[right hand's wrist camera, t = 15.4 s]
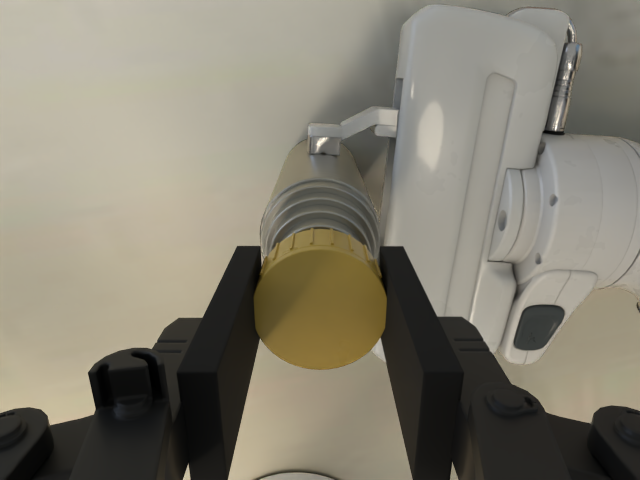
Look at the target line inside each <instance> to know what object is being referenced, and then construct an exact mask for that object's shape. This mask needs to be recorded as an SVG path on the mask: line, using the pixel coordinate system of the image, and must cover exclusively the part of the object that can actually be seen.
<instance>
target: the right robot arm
mask: <svg viewBox="0 0 640 480" xmlns="http://www.w3.org/2000/svg"><path fill="white" fill-rule="evenodd" d="M261 268H262V266H261V246H237V248H236V250H235V252H234V254H233V256H232V258H231V260H230V262H229V264H228V266H227V268H226V271H225V273H224V275H223V277H222V279H221V281H220V283H219V285H218V287H217V289H216V291H215V293H214V295H213V298H212V300H211V302H210V304H209V306H208V308H207V310H206V312H205V314H204V316H203V318H178V319H177V320H175V321H174V322H173V323H171V324H170V325H169V326H167V327H166V328H165V329H164V330H163V332H162V334H161V335H160V337H159V338H158V340H157V343H155V345H154V347H153V348H152V349H149V348H131V349H126V350H121V351H118V352H115V353H113V354H110V355H108V356H106V357H104V358H103V359H101V360H100V361H98V362H97V363H95V364H94V366H93V367H92V368H91V369H90V371H89V372H88V375H89V379H90V384H91V389H92V393H93V398H94V402H95V407H96V411H95V413H94V415H91V416H88V417H84V418H81V419H77V420H72V421H68V422H63V423H59V424H54V425H50V424H49V420H48V416H47V415H46V414H45V413H44V412H43V411H42V410H40V409H35V408H30V407H28V408H18V409H13V410H9V411H6V412H3V413H0V480H183V477H184V474H185V471H186V468H187V465H188V462H189V470H190V477H191V480H228V476H229V472H230V467H231V463H232V458H233V454H234V450H235V445H236V441H237V436H238V432H239V428H240V423H241V419H242V414H243V410H244V406H245V401H246V397H247V392H248V388H249V384H250V379H251V375H252V370H253V366H254V362H255V357H256V353H257V349H258V344H259V340H260V337H259V335H258V333H257V331H256V328H255V313H254V292H255V289H256V286H257V283H258V279H259V276H260V275H259V274H260V271H261ZM379 268H380V271H381V274H382V282H383V285H384V288H385V292H386V295H387V305H386V322H385V329H384V332H383V334H382V336H381V337H380V338H381V342H382V346H383V351H384V355H385V360H386V364H387V368H388V373H389V377H390V381H391V386H392V390H393V395H394V399H395V403H396V408H397V412H398V417H399V421H400V425H401V430H402V434H403V439H404V443H405V447H406V452H407V456H408V460H409V465H410V469H411V474H412V478H413V480H450V474H451V466H452V462H453V465H454V468H455V470H456V473H457V476H458V479H459V480H640V411H638V410H635V409H631V408H628V407H621V406H607V407H602V408H600V409H598V410H597V411H596V412H595V413H594V415H593V419H592V423H591V424H590V423H585V422H581V421H576V420H572V419H567V418H563V417H559V416H556V415H552V414H549V413H546V412H545V410H544V408H543V407H542V405H541V404H540V402H539V401H538V399H537V398H535V397H534V396H533V395H531V394H530V393H529V392H528V391H526V390H524V389H521V388H519V387H517V386H515V385H512V384H511V383H510V381H509V380H508V378H507V376H506V375H505V373H504V371H503V370H502V368H501V367H500V365H499V363H498V362H497V360H496V358H495V357H494V355H493V354H492V352H490V349H489V347H488V346H487V344H486V342H485V341H483V337H482V336H481V334H480V333H479V331H478V329H477V328H476V327H475V326H474V325H473V324H471V323H470V322H469V321H467V320H466V319H465V318H463V317H437V315H436V313H435V311H434V309H433V307H432V305H431V303H430V301H429V298H428V296H427V294H426V292H425V290H424V288H423V286H422V284H421V282H420V280H419V278H418V276H417V274H416V272H415V269H414V267H413V265H412V263H411V261H410V259H409V257H408V255H407V253H406V251H405V249H404V247H403V246H380V257H379Z"/></svg>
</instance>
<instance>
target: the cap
mask: <svg viewBox="0 0 640 480" xmlns="http://www.w3.org/2000/svg"><path fill="white" fill-rule="evenodd" d="M259 275H260V276H259V279H258V283H257V286H256V289H255V292H254V313H255V328H256V331H257V333H258V335H259V337H260V338H261V340H262V342H263V343H264V344H265V345H266V346H267V348H268V349H269V350H270V351H272V352H273V353H274V354H275V355H276V356H278V357H279V358H281V359H282V360H284V361H286V362H288V363H290V364H293V365H295V366H299V367H302V368H307V369H317V370H323V369H333V368H338V367H342V366H345V365H348V364H350V363H352V362H354V361H356V360H358V359H360V358H361V357H363V356H364V355H365V354H367V353H368V352H369V351H370V350H371V349H372V348H373V347H374V346H375V344H376V343H377V342H378V340H379V339H380V337H381V336H382V334H383V332H384V329H385V322H386V305H387V295H386V292H385V288H384V285H383V282H382V274H381V271H380V268H379V265H378V261H377V259H374V257H373V256H372V254H371V253H370V252H369V251H368V249H367V246H366V245H365V244H364V245H363V244H361V243H360V242H359V241H357V240H356V239H354V238H353V237H351V235H350V234H349V235H347V234H345V233H341V232H338V231H334V230H333V229H332V228H330V230H329V229H313V228H311V230H306V231H302V232H299V233H296V234H295V233H292V236H289V237H288V238H286V239H284V240H283V241H281V242H280V243H276V246H275V248H274V249H273V250H272V251H271V252H270V254H269V255H268V256H265V258H264V261H263V265H262V268H261V271H260V274H259Z"/></svg>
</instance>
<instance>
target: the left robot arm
mask: <svg viewBox="0 0 640 480" xmlns="http://www.w3.org/2000/svg"><path fill="white" fill-rule="evenodd" d="M566 34H567V36H568V43H565V38H566ZM581 57H582V44H581V43H577V33H576V28H575V25H574V23H573V21H572V20H571V18H570V17H569V16H568V15H567V14H566V13H564V12H562V11H561V10H558V9H554V8H540V7H522V8H518V9H515V10H513V11H511V12H510V13H508V14H507V15H506V16H504V15H500V14H496V13H492V12H487V11H482V10H478V9H472V8H466V7H459V6H452V5H442V4H433V5H428V6H425V7H423V8H421V9H420V10H418V11H417V12H416V13H415V14H413V15H412V16H411V17H410V18H409V19H408V20H407V21H406V22H405V23H404V24H403V26H402V29H401V34H400V43H399V51H398V60H397V69H396V78H395V87H394V96H393V105H392V107H376V106H372V107H370V108H368V109H366V110H364V111H362V112H360V113H358V114H356V115H354V116H352V117H350V118H348V119H346V120H345V121H343V122H341V125H339V124H323V123H309V125H308V143H307V153H311V154H320V153H322V152H325V153H326V154H328V155H338V156H340V146H341V140H344V139H346V138H348V137H350V136H352V135H354V134H356V133H358V132H361V131H363V130H365V129H367V128H369V127H371V131H372V132H373V133H374V134H375V135H376V136H382V137H389V140H388V149H387V158H386V167H385V176H384V184H383V193H382V202H381V211H380V220H379V225H380V246H403V247H404V249H405V251H406V253H407V255H408V257H409V259H410V261H411V263H412V265H413V267H414V269H415V272H416V274H417V276H418V278H419V280H420V282H421V284H422V286H423V288H424V290H425V292H426V294H427V296H428V298H429V301H430V303H431V305H432V307H433V309H434V311H435V313H436V315H437V317H463V318H465V319H466V320H467V321H469V322H470V323H471V324H473V325H474V326H475V327H476V328H477V329H478V331H479V333H480V334H481V336H482V337H483V341H485V342H486V344H487V346H488V347H489V349H490V352H492V354H494V353H495V352H496V351H497V350H498V351H499V352H500V353H501V355H502V356H503V357H504V358H505V359H506V360H507V361H508V362H510V363H513V364H523V365H526V364H532V363H535V362H536V361H538V360H539V359H540V358H541V357H542V355H543V354H544V353H545V351H546V350H547V348H548V347H549V345H550V344H551V342H552V341H553V339H554V338H555V336H556V335H557V333H558V332H559V331H560V329H561V328H562V326H563V325H564V324H565V322H566V321H567V320H568V318H569V317H570V316H571V314H572V313H573V312H574V311H575V310H576V308H577V307H578V306H579V305H580V304H581V303H582V301H583V300H584V299H585V298H586V297H587V296H588V295H589V294H590V293H591V291H592V290H597V289H604V288H621V289H624V290H626V291H628V292H630V293H632V294H633V295H635V296H636V298H637V299H638V301H639V302H638V303H637V308H638V310H639V312H640V144H639V143H637V142H634V141H631V140H628V139H625V138H620V137H613V136H596V135H581V134H567V133H563V132H564V127H565V123H566V119H567V115H568V111H569V107H570V102H571V98H570V97H571V95H572V92H571V91H572V85H573V80H574V78H575V74H576V71H578V69H579V66H580V62H581ZM379 257H380V247H379V253H378V256H377V261H378V265H379ZM372 352H373V353H374V354H375V355H376V356H377V357H378V358H380V359H381V360H382V361H384V362H385V363H386V360H385V355H384V351H383V346H382V342H381V338H380V339H379V340H378V342H377V343H376V344H375V346H374V347H373V348H372ZM259 480H334V479H331V478H328V477H325V476H321V475H317V474H311V473H298V472H294V473H282V474H276V475H272V476H268V477H265V478H262V479H259Z"/></svg>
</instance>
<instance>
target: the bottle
mask: <svg viewBox="0 0 640 480" xmlns="http://www.w3.org/2000/svg"><path fill="white" fill-rule="evenodd" d="M307 143H308V139H306V140H304V141H302V142H300V143H299V144H297V145H296V146H295V147H294V148H293V149H292V150H291V151H290V153H289V154H288V156H287V158H286V160H285V163H284V165H283V168H282V170H281V173H280V175H279V178H278V180H277V183H276V185H275V188H274V190H273V192H272V195H271V197H270V200H269V202H268V205H267V207H266V210H265V212H264V215H263V218H262V221H261V226H260V243H261V251H262V256H263V258H265V256H268V255H269V254H270V252H271V251H272V250H273V249H274V248H275V246H276V243H280V242H281V241H283V240H284V239H286V238H288V237H289V236H292V233H295V234H296V233H299V232H302V231H306V230H311V228H313V229H329V230H330V228H332V229H333V230H334V231H338V232H341V233H345V234H347V235H349V234H350V235H351V237H353V238H354V239H356V240H357V241H359V242H360V243H361V244H363V245H364V244H365V245H366V246H367V249H368V251H369V252H370V253H371V254H372V256H373V257H374V259H377V256H378V253H379V247H380V225H379V221H378V217H377V214H376V212H375V209H374V207H373V204H372V202H371V200H370V197H369V195H368V192H367V190H366V187H365V185H364V182H363V180H362V177H361V175H360V173H359V170H358V168H357V165H356V163H355V160H354V158H353V156H352V154H351V153H350V151H349V150H348V149H347V148H346V147H345V146H344V145H343V144H341V146H340V156H338V155H328V154H326V153H325V152H322V153H320V154H311V153H307Z"/></svg>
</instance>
